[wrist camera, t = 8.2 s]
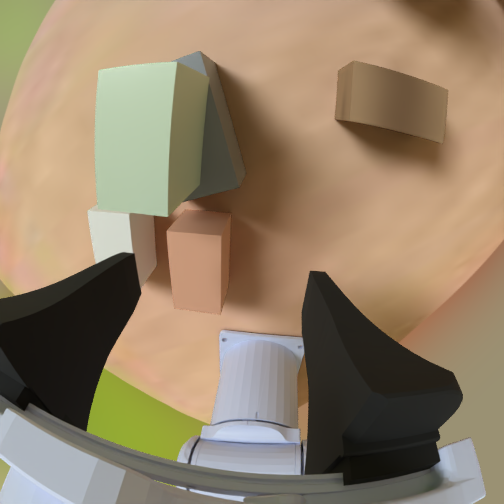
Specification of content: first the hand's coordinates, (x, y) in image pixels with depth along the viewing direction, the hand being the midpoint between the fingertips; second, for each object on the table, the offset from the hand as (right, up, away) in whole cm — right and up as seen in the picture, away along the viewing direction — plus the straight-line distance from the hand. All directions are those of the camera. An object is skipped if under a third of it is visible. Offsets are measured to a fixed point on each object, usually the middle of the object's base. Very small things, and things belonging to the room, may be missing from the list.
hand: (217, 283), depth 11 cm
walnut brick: (+10, +11, +4) cm, 15 cm away
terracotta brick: (-2, +2, +10) cm, 11 cm away
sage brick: (-3, +8, +2) cm, 9 cm away
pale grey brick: (-8, +3, +10) cm, 13 cm away
